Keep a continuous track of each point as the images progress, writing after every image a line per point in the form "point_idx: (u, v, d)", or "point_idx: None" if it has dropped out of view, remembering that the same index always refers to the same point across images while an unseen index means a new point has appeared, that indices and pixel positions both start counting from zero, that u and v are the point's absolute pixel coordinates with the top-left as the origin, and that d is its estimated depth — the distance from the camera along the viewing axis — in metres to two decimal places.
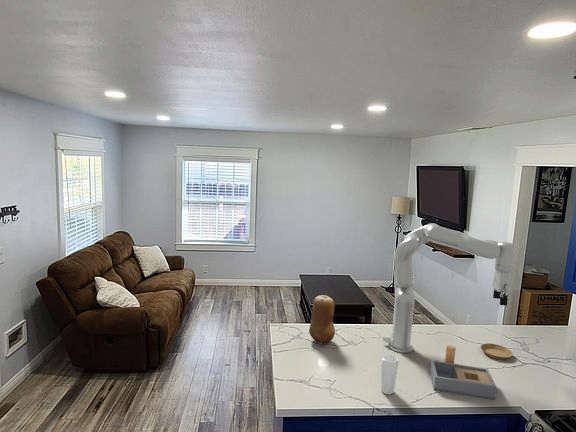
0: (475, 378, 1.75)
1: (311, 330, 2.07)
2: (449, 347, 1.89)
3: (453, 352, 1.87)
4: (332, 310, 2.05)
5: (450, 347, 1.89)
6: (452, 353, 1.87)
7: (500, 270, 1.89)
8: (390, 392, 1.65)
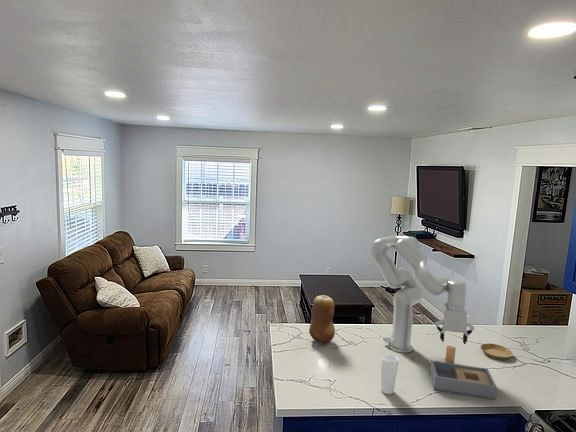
0: (475, 378, 1.75)
1: (311, 330, 2.07)
2: (449, 347, 1.89)
3: (453, 352, 1.87)
4: (332, 310, 2.05)
5: (450, 347, 1.89)
6: (452, 353, 1.87)
7: (463, 310, 1.83)
8: (390, 392, 1.65)
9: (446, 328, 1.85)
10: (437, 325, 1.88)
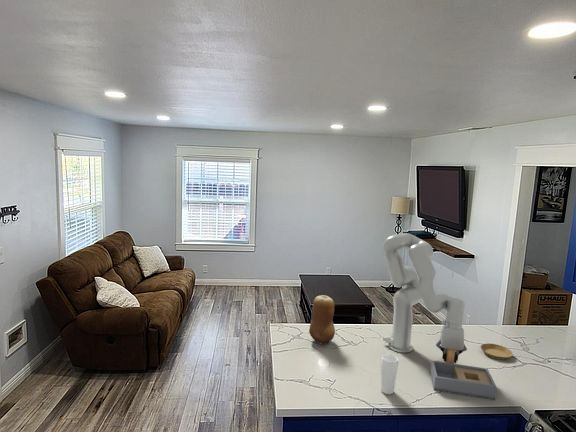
0: (475, 378, 1.75)
1: (311, 330, 2.07)
2: None
3: (453, 352, 1.87)
4: (332, 310, 2.05)
5: None
6: (452, 353, 1.87)
7: (460, 329, 1.84)
8: (390, 392, 1.65)
9: (443, 345, 1.87)
10: (438, 346, 1.89)
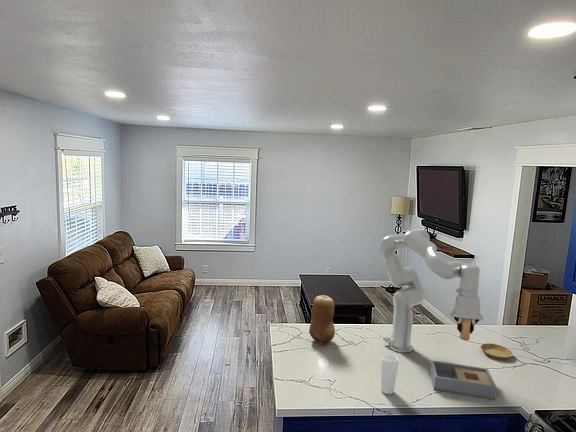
0: (475, 378, 1.75)
1: (311, 330, 2.07)
2: None
3: (469, 322, 1.76)
4: (332, 310, 2.05)
5: None
6: (467, 323, 1.76)
7: (476, 296, 1.74)
8: (390, 392, 1.65)
9: (458, 315, 1.76)
10: (453, 316, 1.78)
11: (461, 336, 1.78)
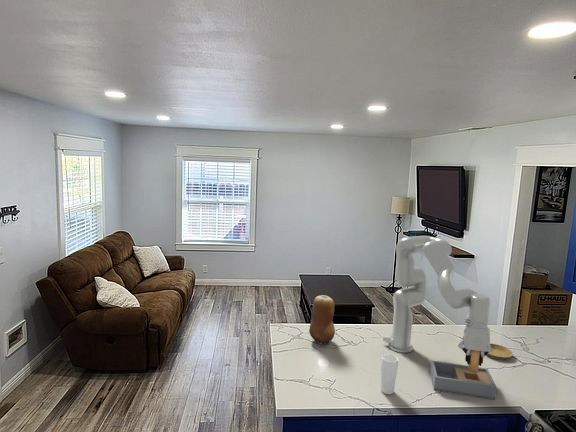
0: (475, 378, 1.75)
1: (311, 330, 2.07)
2: None
3: (478, 354, 1.69)
4: (332, 310, 2.05)
5: None
6: (476, 355, 1.69)
7: (486, 328, 1.67)
8: (390, 392, 1.65)
9: (467, 346, 1.69)
10: (461, 347, 1.72)
11: (469, 368, 1.71)
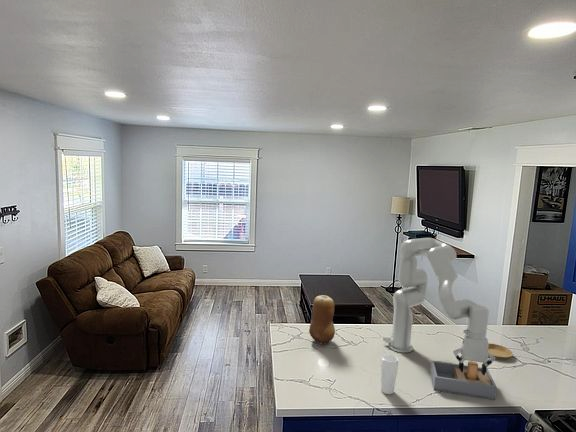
0: None
1: (311, 330, 2.07)
2: (471, 363, 1.72)
3: (475, 369, 1.70)
4: (332, 310, 2.05)
5: (472, 363, 1.72)
6: (474, 370, 1.70)
7: (484, 339, 1.67)
8: (390, 392, 1.65)
9: (465, 357, 1.70)
10: (456, 354, 1.73)
11: None
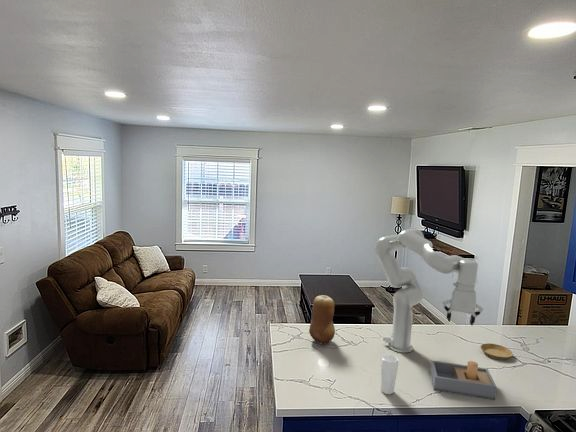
0: None
1: (311, 330, 2.07)
2: (471, 363, 1.72)
3: (475, 368, 1.71)
4: (332, 310, 2.05)
5: (472, 363, 1.72)
6: (474, 370, 1.70)
7: (473, 291, 1.77)
8: (390, 392, 1.65)
9: (454, 308, 1.80)
10: (444, 304, 1.83)
11: None
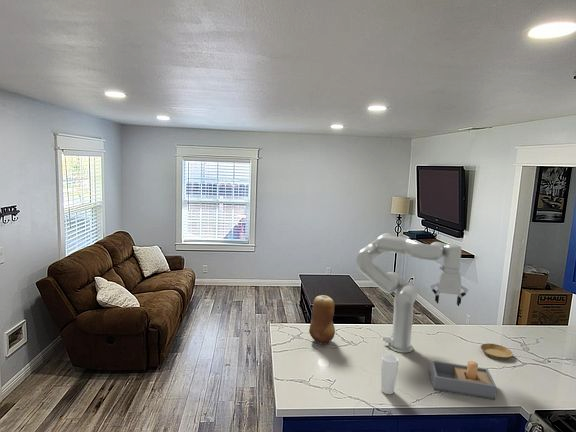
0: None
1: (311, 330, 2.07)
2: (471, 363, 1.72)
3: (475, 368, 1.71)
4: (332, 310, 2.05)
5: (472, 363, 1.72)
6: (474, 370, 1.70)
7: (458, 273, 1.90)
8: (390, 392, 1.65)
9: (441, 290, 1.92)
10: (432, 287, 1.95)
11: None
